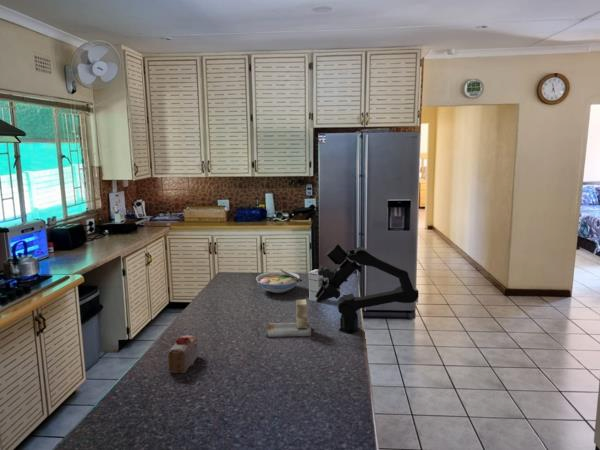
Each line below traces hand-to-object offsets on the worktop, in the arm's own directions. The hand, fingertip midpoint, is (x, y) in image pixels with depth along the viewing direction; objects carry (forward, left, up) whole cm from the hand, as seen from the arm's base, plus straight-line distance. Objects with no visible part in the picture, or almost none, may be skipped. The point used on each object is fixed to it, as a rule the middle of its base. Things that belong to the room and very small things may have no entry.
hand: (316, 299), depth 183 cm
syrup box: (+22, -30, -14) cm, 40 cm away
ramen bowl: (+46, -29, -14) cm, 56 cm away
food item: (+22, +50, -14) cm, 56 cm away
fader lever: (+4, +4, -12) cm, 14 cm away
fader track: (+9, +8, -14) cm, 18 cm away
